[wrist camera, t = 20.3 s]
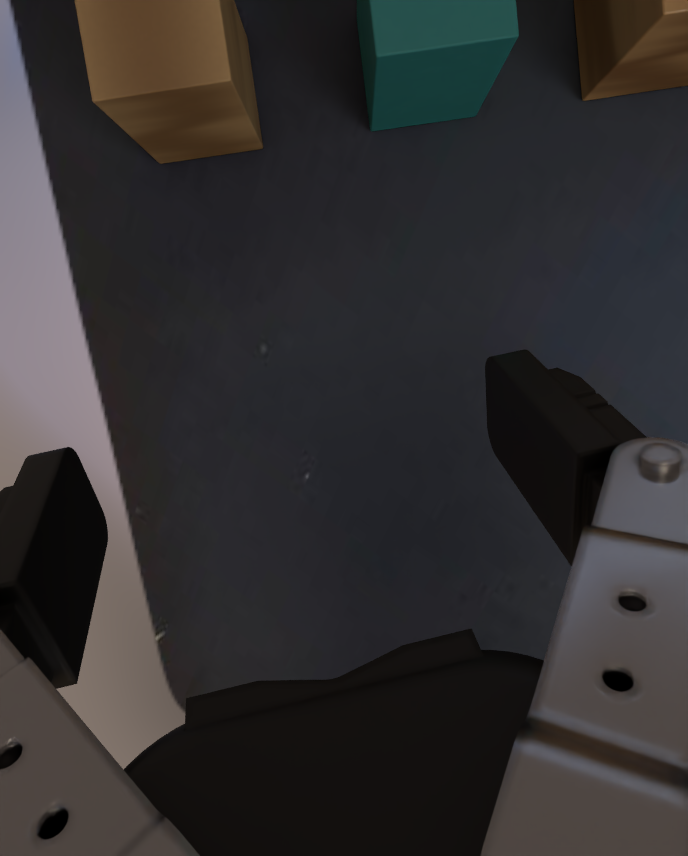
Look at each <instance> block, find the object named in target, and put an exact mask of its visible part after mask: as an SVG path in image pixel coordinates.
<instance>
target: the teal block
mask: <svg viewBox="0 0 688 856" xmlns="http://www.w3.org/2000/svg"><path fill="white" fill-rule="evenodd" d="M357 26H358V34H359V43H360V51H361V59H362V68H363V76H364V84H365V93H366V101H367V109H368V118H369V126H370V131H378V130H385V129H392V128H399V127H406V126H413V125H420V124H427V123H434V122H441V121H448V120H454V119H461V118H468V117H475V116H476V115H477V113H478V111H479V109H480V107H481V105H482V104H483V102H484V100H485V98H486V96H487V94H488V92H489V90H490V89H491V87H492V85H493V83H494V81H495V79H496V77H497V75H498V74H499V72H500V70H501V68H502V66H503V64H504V62H505V60H506V59H507V57H508V55H509V53H510V51H511V49H512V47H513V46H514V44H515V42H516V40H517V38H518V36H519V30H518V19H517V8H516V0H357Z"/></svg>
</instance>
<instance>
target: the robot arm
mask: <svg viewBox="0 0 688 856" xmlns="http://www.w3.org/2000/svg"><path fill="white" fill-rule="evenodd" d="M485 377H486V405H487V428H488V434H489V439H490V443H491V446H492V449H493V451H494V453H495V455H496V457H497V458H498V460H499V461H500V463H501V464H502V465H503V467H504V468H505V470H506V471H507V473H508V474H509V476H510V477H511V479H512V480H513V482H514V483H515V484H516V486H517V487H518V489H519V490H520V492H521V493H522V495H523V496H524V498H525V499H526V501H527V502H528V503H529V505H530V506H531V508H532V509H533V511H534V512H535V514H536V515H537V517H538V518H539V520H540V521H541V522H542V524H543V525H544V527H545V528H546V530H547V531H548V533H549V534H550V536H551V537H552V539H553V540H554V541H555V543H556V544H557V546H558V547H559V549H560V550H561V552H562V553H563V555H564V556H565V558H566V559H567V560H568V562H569V563H570V565H571V566H572V568H571V571H570V574H569V578H568V581H567V585H566V588H565V591H564V595H563V598H562V602H561V605H560V608H559V612H558V615H557V619H556V622H555V625H554V629H553V632H552V636H551V639H550V642H549V646H548V649H547V653H546V656H545V659H544V660H541V659H537V658H534V657H531V656H528V655H523V654H518V653H513V652H507V651H497V650H481V649H480V647H479V644H478V642H477V640H476V638H475V635H474V633H473V631H472V629H468V630H463V631H459V632H455V633H451V634H447V635H443V636H439V637H435V638H431V639H427V640H423V641H419V642H415V643H410V644H406V645H403V646H401V647H399V648H397V649H395V650H393V651H391V652H389V653H387V654H385V655H383V656H381V657H379V658H377V659H375V660H373V661H371V662H369V663H367V664H365V665H363V666H360V667H358V668H356V669H354V670H352V671H350V672H348V673H346V674H344V675H342V676H340V677H338V678H334V679H329V680H281V681H255V682H251V683H247V684H243V685H239V686H235V687H231V688H227V689H223V690H219V691H215V692H211V693H207V694H202V695H198V696H194V697H190V698H186V716H185V724H183V725H181V726H180V727H178V728H176V729H174V730H172V731H171V732H169V733H168V734H166V735H164V736H163V737H161V738H160V739H159V740H157V741H156V742H154V743H153V744H152V745H151V746H149V747H148V748H147V749H146V750H144V751H143V752H142V753H141V754H139V755H138V756H137V757H136V758H135V759H134V760H133V761H132V762H131V763H130V764H129V765H128V766H127V767H126V768H125V769H124V770H123V769H122V768H121V767H120V765H119V764H118V763H117V762H116V761H115V759H114V758H113V757H112V756H111V754H110V753H109V752H108V751H107V750H106V749H105V747H104V746H103V745H102V744H101V742H100V741H99V740H98V739H97V738H96V736H95V735H94V734H93V733H92V732H91V730H90V729H89V728H88V727H87V726H86V724H85V723H84V722H83V721H82V720H81V718H80V717H79V716H78V715H77V714H76V712H75V711H74V710H73V709H72V708H71V707H70V705H69V704H68V703H67V702H66V701H65V699H63V697H62V696H61V695H60V693H59V692H58V691H57V690H56V689H57V688H61V687H65V686H69V685H73V684H77V681H78V676H79V671H80V667H81V662H82V658H83V653H84V649H85V644H86V639H87V635H88V630H89V626H90V621H91V616H92V612H93V607H94V603H95V598H96V593H97V589H98V584H99V580H100V575H101V570H102V566H103V561H104V556H105V552H106V547H107V542H108V531H107V524H106V519H105V516H104V513H103V510H102V508H101V506H100V503H99V501H98V499H97V497H96V494H95V492H94V490H93V488H92V485H91V483H90V481H89V479H88V477H87V474H86V472H85V470H84V468H83V466H82V463H81V461H80V459H79V457H78V455H77V453H76V452H75V451H74V450H73V449H72V448H70V447H67V448H62V449H57V450H53V451H48V452H44V453H39V454H34V455H30V456H28V457H27V458H26V459H25V461H24V464H23V466H22V468H21V470H20V472H19V474H18V477H17V479H16V481H15V483H14V485H13V486H10V487H6V488H4V489H3V490H1V491H0V856H688V444H685V443H683V442H680V441H676V440H672V439H666V438H657V437H646V436H645V435H644V434H643V433H641V432H640V431H639V430H638V429H637V428H636V427H635V426H634V425H633V424H631V423H630V422H629V421H628V420H627V419H626V418H625V417H624V416H623V415H622V414H620V413H619V412H618V411H617V410H616V409H615V408H614V407H613V406H612V405H608V403H607V401H606V400H605V399H604V398H603V397H602V396H601V395H600V394H598V393H597V394H596V392H595V390H594V389H593V388H592V387H591V386H590V385H589V384H587V383H586V382H585V381H584V380H583V379H582V378H581V377H579V376H576V375H574V374H571V373H569V372H567V371H564V370H562V369H559V368H554V369H549V370H548V369H547V368H546V367H545V366H544V365H543V364H542V363H541V362H540V361H539V360H537V359H536V358H535V357H534V356H533V355H532V354H531V353H530V352H529V351H528V350H520V351H516V352H511V353H506V354H502V355H497V356H492V357H489V358H488V359H487V361H486V366H485Z"/></svg>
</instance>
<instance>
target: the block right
mask: <svg viewBox="0 0 688 856" xmlns="http://www.w3.org/2000/svg"><path fill="white" fill-rule="evenodd" d="M574 9H575V21H576V33H577V45H578V57H579V68H580V80H581V92H582V100H583V101H586V100H593V99H600V98H606V97H613V96H620V95H627V94H633V93H640V92H647V91H654V90H660V89H667V88H674V87H680V86H687V85H688V0H574Z"/></svg>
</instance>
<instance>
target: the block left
mask: <svg viewBox="0 0 688 856" xmlns="http://www.w3.org/2000/svg"><path fill="white" fill-rule="evenodd" d="M75 5H76V11H77V17H78V22H79V28H80V34H81V39H82V45H83V51H84V56H85V62H86V68H87V73H88V79H89V85H90V90H91V96H92V101H93V102H94V103H95V104H96V105H97V106H98V107H99V108H100V109H101V110H102V111H104V112H105V113H106V114H107V115H108V116H109V117H110V118H111V119H112V120H113V121H114V122H115V123H117V124H118V125H119V126H120V127H121V128H122V129H123V130H124V131H125V132H126V133H127V134H128V135H129V136H131V137H132V138H133V139H134V140H135V141H136V142H137V143H138V144H139V145H140V146H141V147H142V148H143V149H145V150H146V151H147V152H148V153H149V154H150V155H151V156H152V157H153V158H154V159H155V160H156V161H158V162H159V163H160V164H163V163H170V162H177V161H183V160H190V159H197V158H204V157H210V156H217V155H224V154H231V153H237V152H244V151H251V150H258V149H262V148H263V143H262V136H261V130H260V123H259V116H258V109H257V102H256V95H255V88H254V81H253V75H252V68H251V61H250V54H249V47H248V40H247V36H246V33H245V30H244V28H243V25H242V22H241V19H240V16H239V13H238V10H237V8H236V5H235V2H234V0H75Z"/></svg>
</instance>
